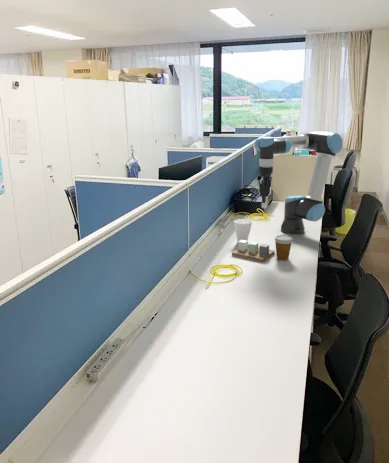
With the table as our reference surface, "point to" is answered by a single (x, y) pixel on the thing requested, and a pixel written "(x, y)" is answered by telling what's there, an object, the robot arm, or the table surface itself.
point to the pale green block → (253, 247)
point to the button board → (252, 255)
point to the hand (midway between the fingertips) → (264, 207)
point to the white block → (242, 245)
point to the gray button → (264, 249)
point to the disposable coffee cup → (283, 246)
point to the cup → (242, 229)
